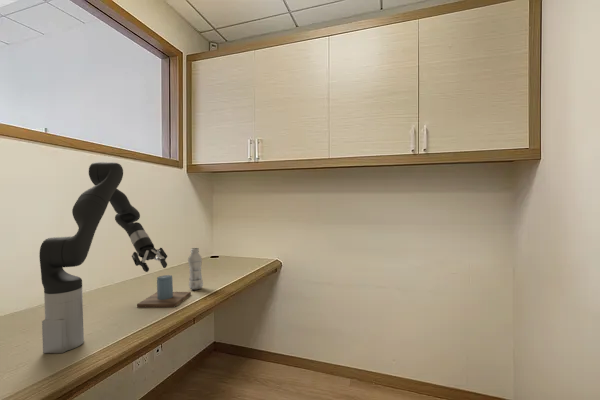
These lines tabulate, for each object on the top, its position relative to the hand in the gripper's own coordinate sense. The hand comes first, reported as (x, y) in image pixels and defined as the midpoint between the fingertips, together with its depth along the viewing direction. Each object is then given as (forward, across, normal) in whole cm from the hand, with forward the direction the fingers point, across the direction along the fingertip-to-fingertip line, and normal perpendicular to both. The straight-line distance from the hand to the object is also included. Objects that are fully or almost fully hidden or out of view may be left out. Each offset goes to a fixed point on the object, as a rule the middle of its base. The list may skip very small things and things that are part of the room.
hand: (156, 268), depth 137 cm
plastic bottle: (+12, +18, +7) cm, 23 cm away
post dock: (+14, 0, +5) cm, 15 cm away
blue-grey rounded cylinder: (+13, 0, +4) cm, 13 cm away
